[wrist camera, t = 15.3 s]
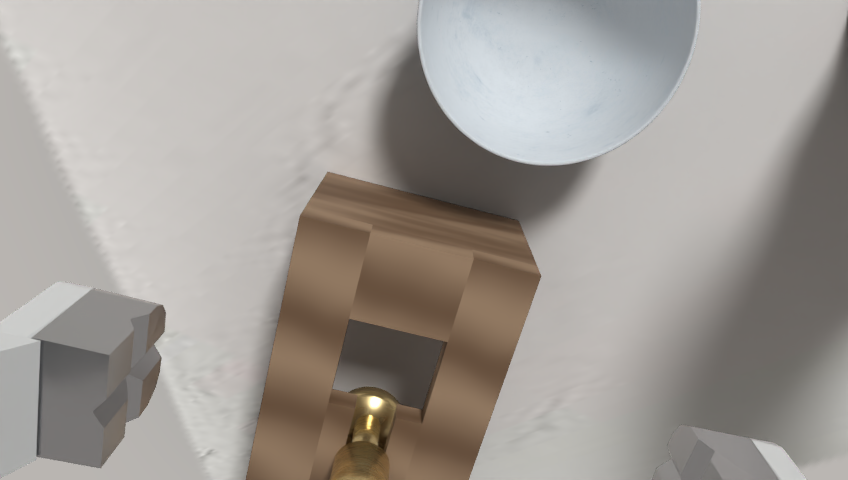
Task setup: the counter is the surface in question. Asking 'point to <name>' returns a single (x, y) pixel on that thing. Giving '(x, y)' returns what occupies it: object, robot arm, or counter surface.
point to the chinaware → (554, 71)
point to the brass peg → (366, 438)
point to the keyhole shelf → (392, 327)
